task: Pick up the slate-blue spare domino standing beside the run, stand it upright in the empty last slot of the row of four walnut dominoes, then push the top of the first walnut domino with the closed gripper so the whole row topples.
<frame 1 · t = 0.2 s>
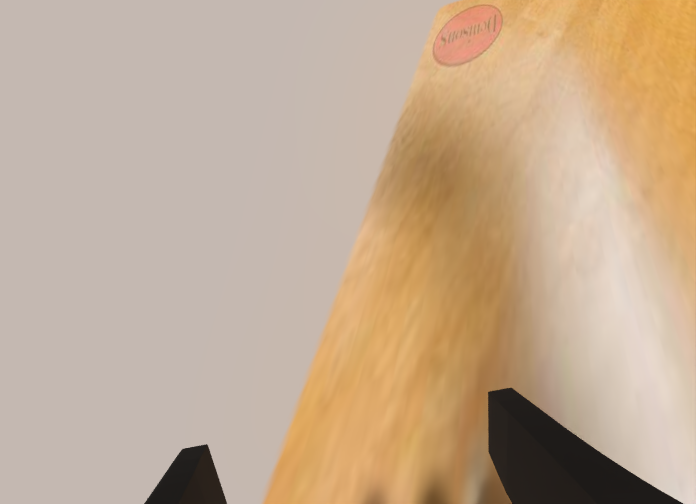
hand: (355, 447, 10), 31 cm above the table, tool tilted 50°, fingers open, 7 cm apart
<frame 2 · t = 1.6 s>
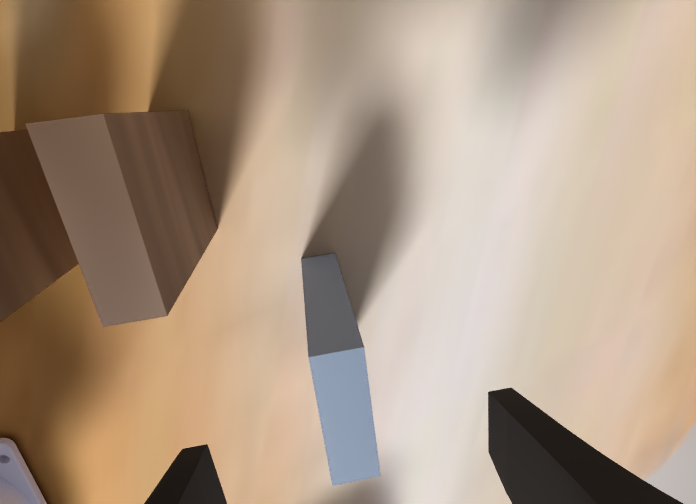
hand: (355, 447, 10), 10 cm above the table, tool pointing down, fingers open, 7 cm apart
spare domino: (325, 303, 20), on the table
domino 4: (184, 175, 17), on the table
domino 3: (59, 193, 17), on the table
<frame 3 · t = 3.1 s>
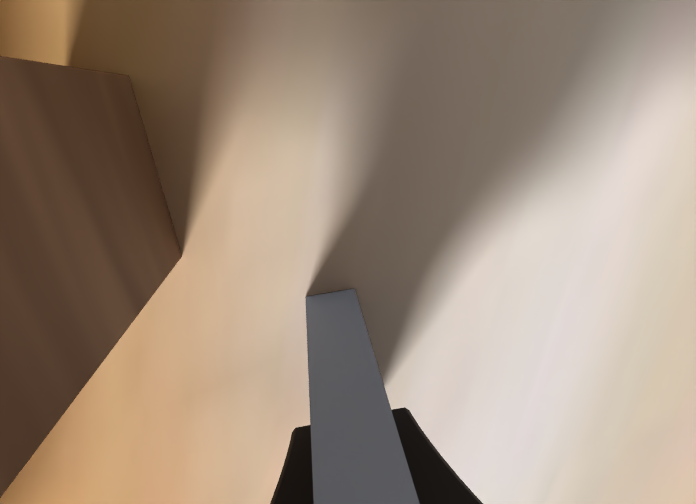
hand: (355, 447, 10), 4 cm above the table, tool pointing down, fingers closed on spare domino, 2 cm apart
spare domino: (340, 357, 14), on the table, touching gripper
domino 4: (127, 177, 11), on the table
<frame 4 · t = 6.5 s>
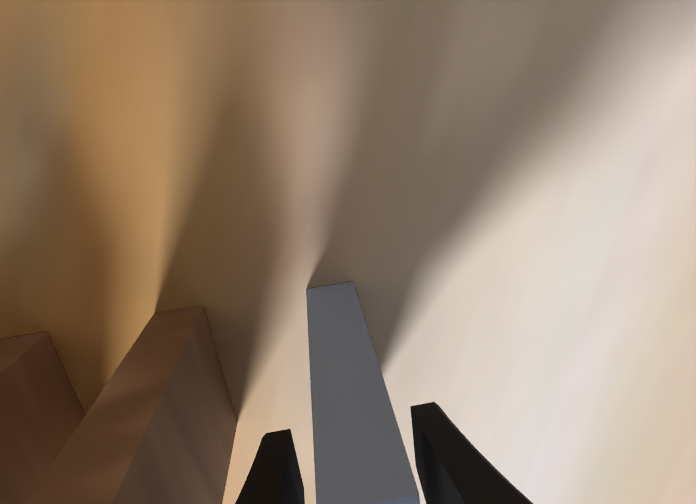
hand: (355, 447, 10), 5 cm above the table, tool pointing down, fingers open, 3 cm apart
spare domino: (339, 347, 15), on the table
domino 4: (198, 371, 14), on the table
domino 3: (51, 397, 14), on the table
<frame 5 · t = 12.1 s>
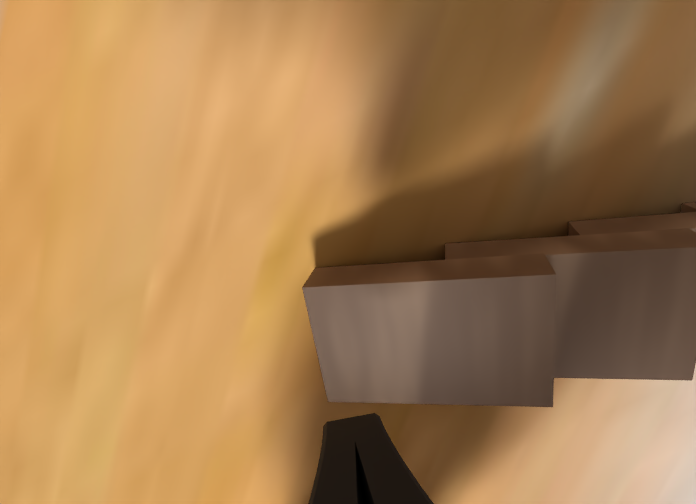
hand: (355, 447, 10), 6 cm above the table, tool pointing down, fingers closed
domino 2: (449, 310, 16), point 1 cm above the table, tilted 71°, touching domino 1, domino 3
domino 1: (321, 335, 16), point 1 cm above the table, tilted 71°, touching domino 2
domino 3: (571, 287, 16), point 1 cm above the table, tilted 71°, touching domino 2, domino 4
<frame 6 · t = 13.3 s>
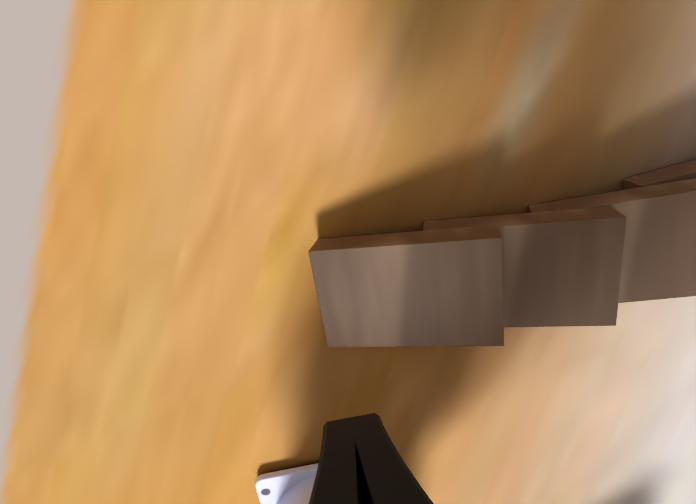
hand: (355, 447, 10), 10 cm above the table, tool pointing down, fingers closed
domino 2: (427, 274, 20), point 1 cm above the table, tilted 72°, touching domino 1
domino 4: (635, 230, 20), point 1 cm above the table, tilted 79°, touching domino 3
domino 1: (323, 293, 19), point 1 cm above the table, tilted 72°, touching domino 2
domino 3: (535, 258, 20), point 1 cm above the table, tilted 71°, touching domino 4
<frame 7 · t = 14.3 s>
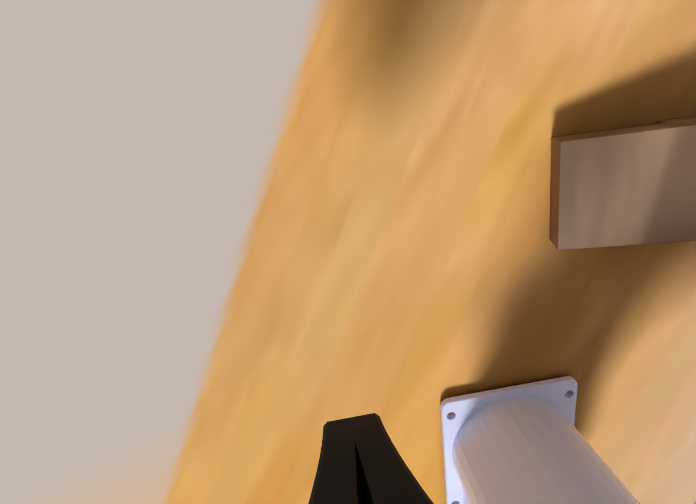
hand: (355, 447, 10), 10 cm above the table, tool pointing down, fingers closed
domino 1: (554, 194, 19), point 1 cm above the table, tilted 72°, touching domino 2
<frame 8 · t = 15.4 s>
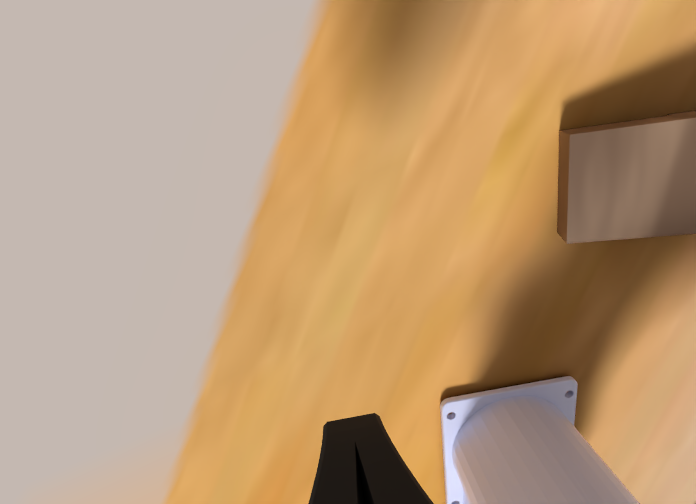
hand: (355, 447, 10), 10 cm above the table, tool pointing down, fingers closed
domino 1: (563, 187, 19), point 1 cm above the table, tilted 73°, touching domino 2
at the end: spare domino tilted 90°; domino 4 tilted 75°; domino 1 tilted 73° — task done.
